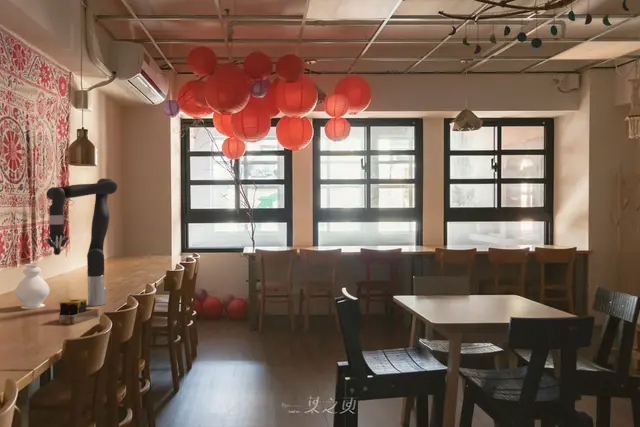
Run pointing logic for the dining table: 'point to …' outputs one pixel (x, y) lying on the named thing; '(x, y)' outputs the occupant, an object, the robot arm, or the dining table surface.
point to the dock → (79, 317)
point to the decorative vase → (32, 288)
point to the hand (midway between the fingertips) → (57, 254)
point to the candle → (73, 306)
